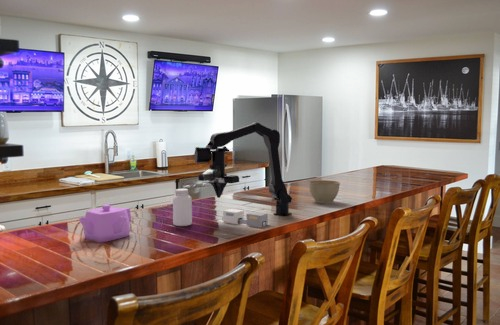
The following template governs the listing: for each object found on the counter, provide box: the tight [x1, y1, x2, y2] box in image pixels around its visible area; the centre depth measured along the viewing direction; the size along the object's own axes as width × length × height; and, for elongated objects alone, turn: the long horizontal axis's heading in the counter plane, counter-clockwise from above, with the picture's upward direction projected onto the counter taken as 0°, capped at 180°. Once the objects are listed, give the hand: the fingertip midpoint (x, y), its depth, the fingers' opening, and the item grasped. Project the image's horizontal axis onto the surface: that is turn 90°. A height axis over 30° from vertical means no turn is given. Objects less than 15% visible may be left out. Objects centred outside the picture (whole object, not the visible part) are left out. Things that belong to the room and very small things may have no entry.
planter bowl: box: [308, 179, 341, 204], centre depth 256 cm, size 16×16×11 cm
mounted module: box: [245, 211, 269, 228], centre depth 204 cm, size 6×7×5 cm
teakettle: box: [78, 204, 132, 243], centre depth 186 cm, size 17×17×12 cm
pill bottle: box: [172, 188, 193, 227], centre depth 206 cm, size 8×8×15 cm
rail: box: [217, 216, 270, 228], centre depth 208 cm, size 8×22×2 cm, turn 57°
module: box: [222, 208, 245, 224], centre depth 210 cm, size 6×7×5 cm
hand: (218, 197), depth 214 cm, fingers closed
